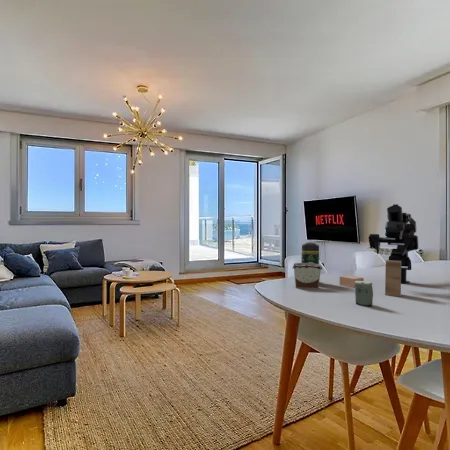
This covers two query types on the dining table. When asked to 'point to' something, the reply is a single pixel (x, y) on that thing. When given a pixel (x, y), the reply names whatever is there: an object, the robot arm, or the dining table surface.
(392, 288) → the walnut block
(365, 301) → the grey-green rounded block
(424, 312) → the dining table surface
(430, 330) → the dining table surface
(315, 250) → the coffee jar
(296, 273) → the food container
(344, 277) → the terracotta block
